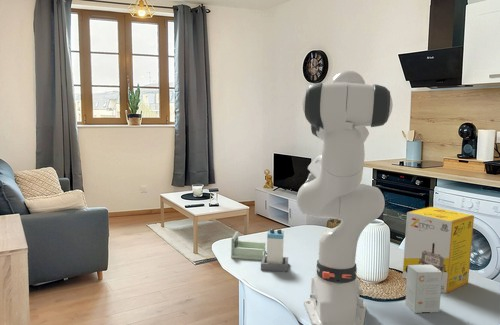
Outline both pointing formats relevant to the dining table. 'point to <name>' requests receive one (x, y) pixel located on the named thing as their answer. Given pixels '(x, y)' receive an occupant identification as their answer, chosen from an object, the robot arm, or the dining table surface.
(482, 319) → the dining table surface
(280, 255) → the plug block
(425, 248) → the packaging box
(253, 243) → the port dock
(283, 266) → the frame
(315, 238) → the dining table surface
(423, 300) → the small box
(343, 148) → the robot arm
